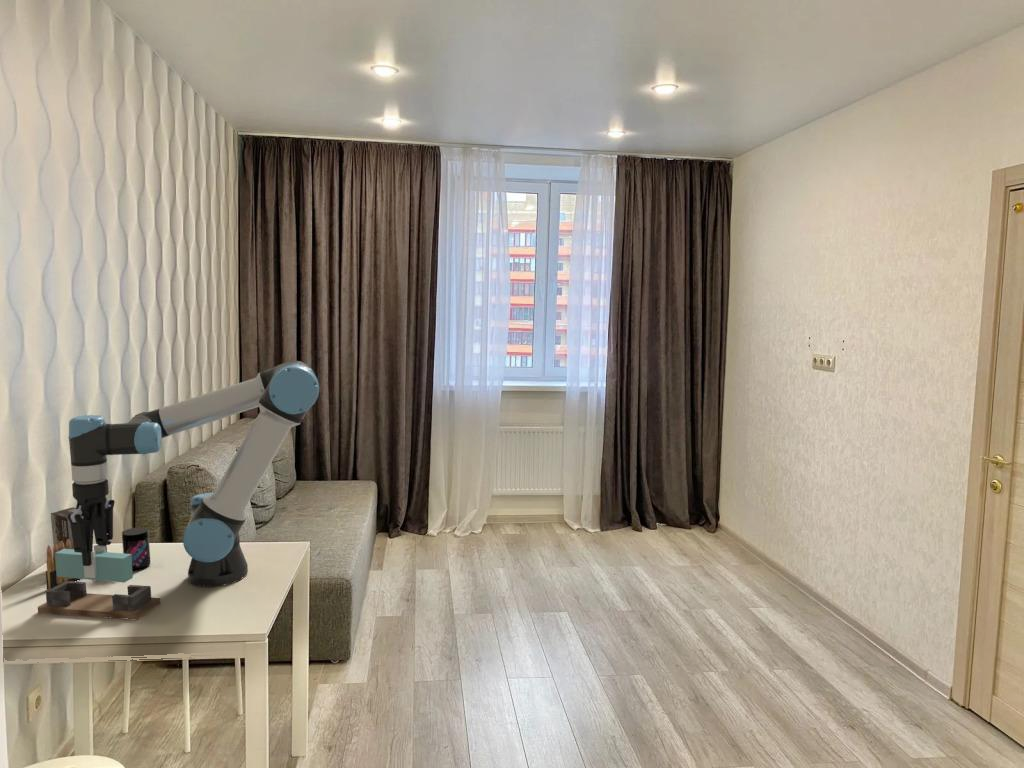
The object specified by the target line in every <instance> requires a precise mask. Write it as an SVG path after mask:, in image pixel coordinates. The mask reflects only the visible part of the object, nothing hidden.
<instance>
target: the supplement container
mask: <svg viewBox="0 0 1024 768" xmlns="http://www.w3.org/2000/svg"><path fill="white" fill-rule="evenodd" d="M121 541H122V553H123V554H132V572H134V571H141V570H145V569H147V568H149V567H150V565H151V550H150V549H151V548H150V532H149V528H147V527H131V528H128V529H125V530H123V531H122V532H121Z"/></svg>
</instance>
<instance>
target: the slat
mask: <svg viewBox="0 0 1024 768" xmlns="http://www.w3.org/2000/svg"><path fill="white" fill-rule="evenodd" d="M95 554H96V571H97V577H96V578H85V577H84V566H83V561H82V553H80V552H75V551H74V549H63V550H60V551H58V552H56V553H55V558H56V575H57V577H66V578H78V579H81V580H90V581H103V582H111V583H112V582H113V583H123V584H124V583H126V582H129V580H131V579H133V571H132V554H123V552H122V553H119V552H109V551H107V552H98V551H95Z"/></svg>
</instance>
